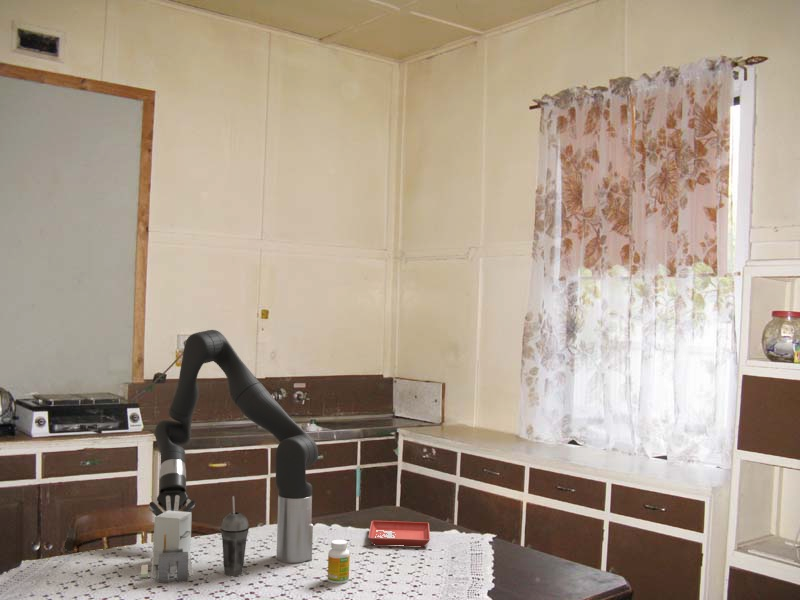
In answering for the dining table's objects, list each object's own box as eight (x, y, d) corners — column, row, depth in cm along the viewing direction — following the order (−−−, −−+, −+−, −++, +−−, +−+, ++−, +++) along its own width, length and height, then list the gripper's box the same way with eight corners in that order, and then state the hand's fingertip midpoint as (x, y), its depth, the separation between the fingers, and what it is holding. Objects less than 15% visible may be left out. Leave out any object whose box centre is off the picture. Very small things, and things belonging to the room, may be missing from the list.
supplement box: (177, 567, 200) (179, 518, 200) (151, 564, 202) (153, 516, 202) (191, 558, 207) (192, 511, 208) (165, 556, 209) (167, 509, 209)
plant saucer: (430, 550, 223) (430, 538, 223) (367, 548, 223) (368, 537, 223) (428, 533, 241) (429, 522, 241) (371, 531, 241) (371, 520, 241)
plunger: (182, 565, 200) (183, 532, 201) (183, 578, 191) (184, 544, 191) (162, 566, 199) (163, 533, 199) (162, 579, 189) (163, 545, 190)
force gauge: (190, 555, 211) (191, 532, 211) (193, 581, 191) (194, 555, 191) (141, 559, 207) (142, 535, 207) (140, 585, 187) (141, 558, 188)
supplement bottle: (340, 585, 191) (341, 546, 191) (323, 581, 194) (324, 542, 194) (353, 579, 195) (354, 541, 196) (336, 575, 198) (337, 537, 198)
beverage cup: (253, 571, 200) (255, 493, 200) (238, 579, 193) (240, 499, 193) (228, 567, 202) (231, 490, 202) (213, 576, 195) (215, 496, 196)
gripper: (148, 472, 219) (146, 527, 207) (196, 470, 223) (197, 524, 211) (148, 487, 224) (146, 541, 212) (195, 485, 228) (196, 538, 216)
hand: (172, 533), depth 212 cm, fingers closed
